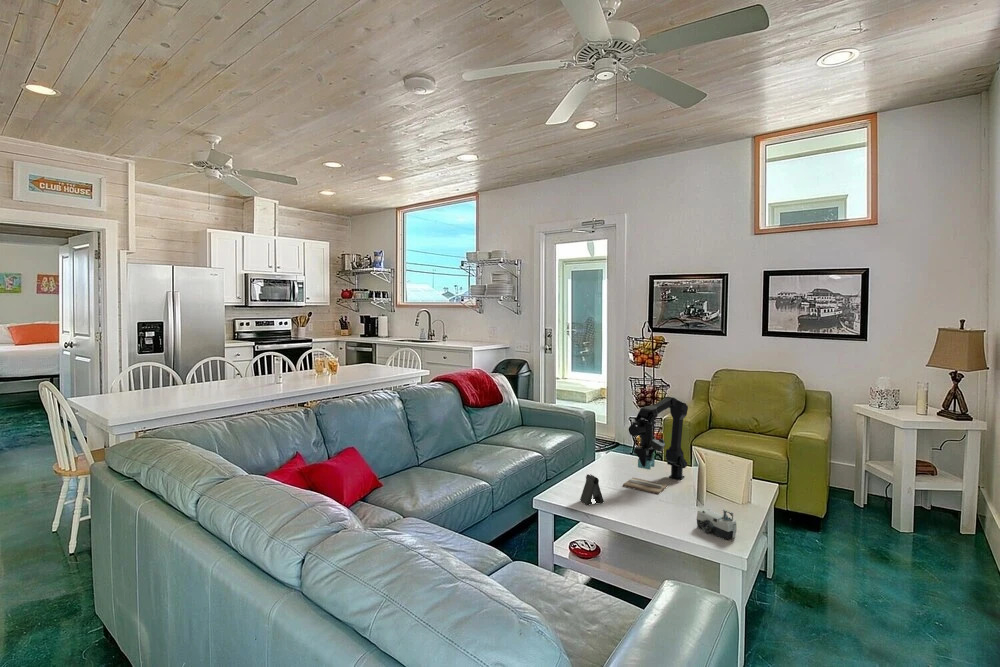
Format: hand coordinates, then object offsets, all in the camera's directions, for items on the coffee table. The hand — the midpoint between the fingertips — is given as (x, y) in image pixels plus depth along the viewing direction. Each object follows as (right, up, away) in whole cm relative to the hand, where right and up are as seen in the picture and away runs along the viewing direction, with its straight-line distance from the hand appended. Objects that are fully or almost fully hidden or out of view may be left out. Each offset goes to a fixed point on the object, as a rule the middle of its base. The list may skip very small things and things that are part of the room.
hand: (646, 464), depth 252 cm
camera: (+13, -14, -51) cm, 54 cm away
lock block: (0, -1, 0) cm, 1 cm away
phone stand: (-30, -12, -20) cm, 38 cm away
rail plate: (0, -11, +1) cm, 11 cm away
